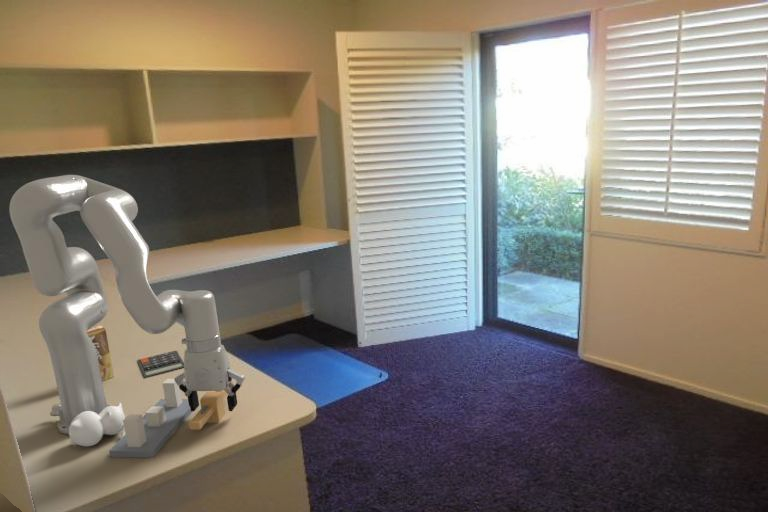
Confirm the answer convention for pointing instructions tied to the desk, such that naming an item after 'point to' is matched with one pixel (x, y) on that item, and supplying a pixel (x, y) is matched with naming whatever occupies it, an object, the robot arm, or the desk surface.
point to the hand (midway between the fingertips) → (213, 408)
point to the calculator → (160, 364)
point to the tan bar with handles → (209, 409)
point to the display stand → (153, 425)
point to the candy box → (102, 351)
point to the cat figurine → (96, 425)
